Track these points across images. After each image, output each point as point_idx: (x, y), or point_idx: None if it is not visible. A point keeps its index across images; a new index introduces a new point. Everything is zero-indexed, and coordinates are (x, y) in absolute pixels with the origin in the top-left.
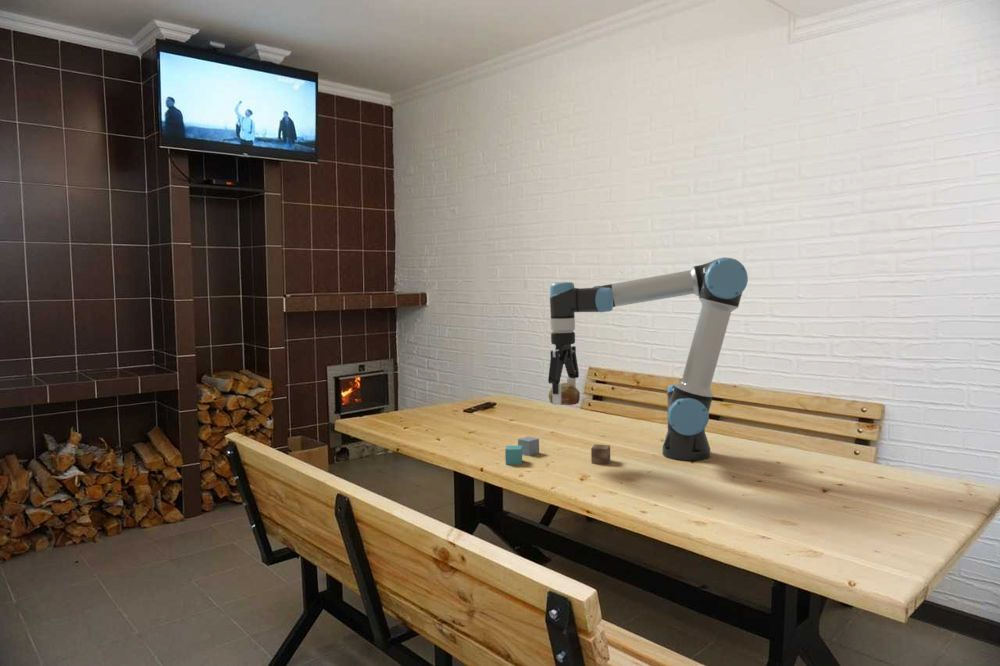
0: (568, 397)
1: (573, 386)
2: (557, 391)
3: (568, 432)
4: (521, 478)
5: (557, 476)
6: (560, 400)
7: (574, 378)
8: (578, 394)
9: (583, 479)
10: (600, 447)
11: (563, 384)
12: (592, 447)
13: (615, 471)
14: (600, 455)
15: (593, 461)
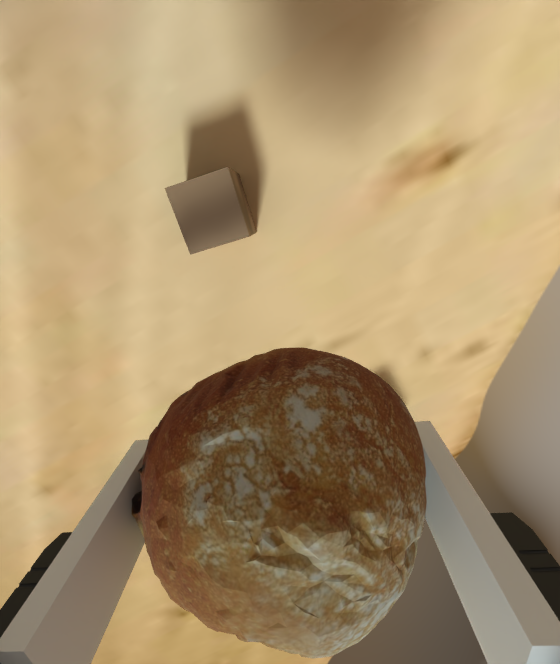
0: (403, 415)
1: (236, 513)
2: (519, 541)
3: (14, 458)
4: (502, 334)
5: (445, 252)
6: (444, 445)
7: (19, 655)
8: (260, 387)
9: (447, 151)
10: (220, 206)
11: (333, 616)
12: (238, 236)
13: (304, 92)
14: (241, 198)
15: (253, 225)
